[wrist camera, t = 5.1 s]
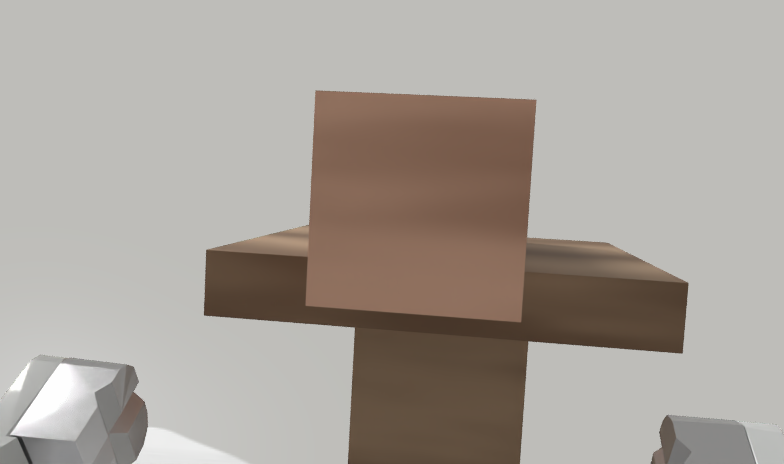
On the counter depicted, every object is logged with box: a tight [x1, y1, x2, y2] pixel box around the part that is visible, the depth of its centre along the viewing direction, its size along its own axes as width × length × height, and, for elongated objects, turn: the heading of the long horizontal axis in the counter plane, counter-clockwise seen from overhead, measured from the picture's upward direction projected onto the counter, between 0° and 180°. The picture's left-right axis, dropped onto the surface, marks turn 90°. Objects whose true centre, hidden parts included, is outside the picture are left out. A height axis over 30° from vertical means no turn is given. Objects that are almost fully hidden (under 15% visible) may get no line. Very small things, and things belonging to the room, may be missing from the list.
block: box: [305, 91, 536, 322], centre depth 23 cm, size 19×4×4 cm, turn 173°
